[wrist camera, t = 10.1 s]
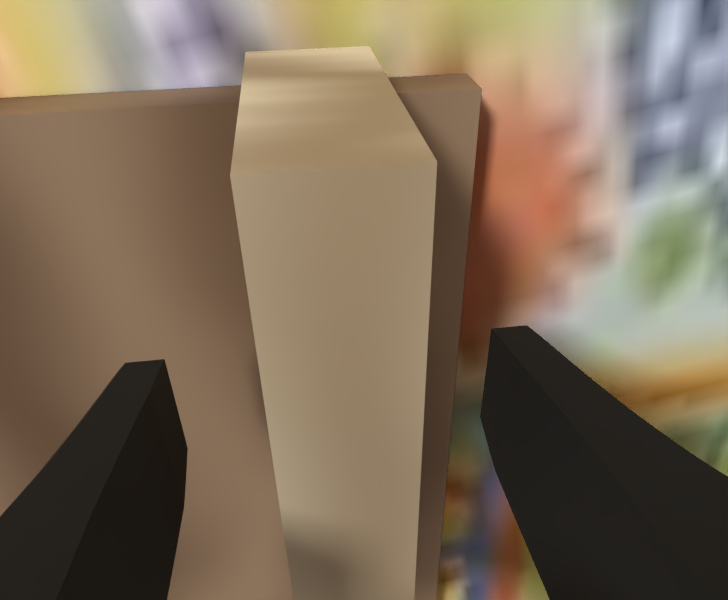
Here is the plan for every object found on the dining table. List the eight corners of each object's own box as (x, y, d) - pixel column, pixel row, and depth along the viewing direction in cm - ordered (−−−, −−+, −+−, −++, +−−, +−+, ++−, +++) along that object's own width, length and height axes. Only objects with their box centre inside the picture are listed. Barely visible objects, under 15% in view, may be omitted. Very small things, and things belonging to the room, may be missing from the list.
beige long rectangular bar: (298, 493, 16) (309, 702, 12) (245, 52, 10) (229, 175, 6) (374, 485, 16) (409, 687, 12) (368, 45, 10) (436, 160, 6)
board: (-58, 796, 26) (-69, 826, 25) (-780, 139, 10) (-877, 163, 9) (418, 723, 27) (422, 749, 27) (466, 73, 12) (482, 89, 11)
